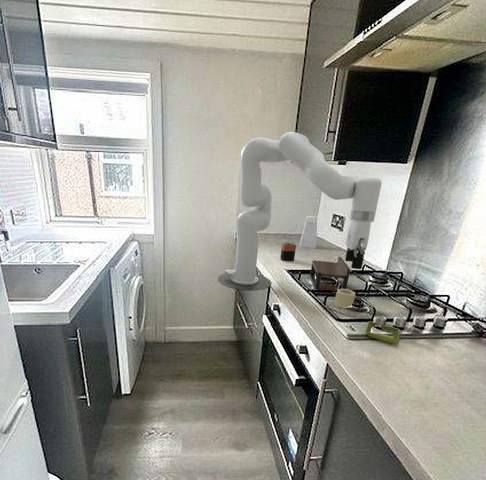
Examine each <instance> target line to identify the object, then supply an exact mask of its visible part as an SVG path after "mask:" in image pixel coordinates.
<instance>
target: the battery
mask: <svg viewBox="0 0 486 480" xmlns="http://www.w3.org/2000/svg"><path fill="white" fill-rule="evenodd" d="M296 249H297V245H296V244H295V243H294V242H290V243H289V242H288V241H284V242H282V243H281V250H280V256H279V257H280V258H279V259H280V260H281V261H283V262H294V261H295V256H296Z"/></svg>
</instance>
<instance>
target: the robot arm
mask: <svg viewBox="0 0 486 480" xmlns="http://www.w3.org/2000/svg"><path fill="white" fill-rule="evenodd" d="M286 161H290V162H291V163H293V164H294V165H295V166H296V167H297V168H299V169H300V171H302V172H303V173H304V174H305V175H306V177H307V178H308V179H309V180H310V182H311V183H312V184H313V185H314V186H315V187H316V188H318V189H319V190H320V192H322V193H323V194H325V195H326V196H327V197H328V198H330V199H333V200H337V201H338V200H339V201H340V200H348V199H349V200H351V199H352V204H351V209H350V215H349V221H350V223H349V225H348V230H347V234H346V239H345V243H344V244H345V246H346V253H345V259H344V262H351V266H350V269H354V270H361V269H362V268H363V263H364V258H365V253H366V250H367V247H368V244H369V240H370V239H369V238H370V233H371V226H372V223H374V222H375V217H376V213H377V208H378V203H379V198H380V194H381V189H382V183H383V182H382V180H381V179H380V178H377V177H376V178H375V177H360V178H357V177H351V176H345V175H342V174H340V173H339V172H338V171H337V170H335V169H334V168H333V167H332V166H331V165H330V164H328V162H327V161H326V160H325V155H324V153H323V152H322V151H320V150H319V149H318V148H317V147H315V146H314V145H313V144H312V143H310V139H309V138H308V137H307V136H306V135H304V134H303V133H299V132H296V131H288V132H286V133H284V134H283V135H281V137H280V139H278V140H277V139H276V140H274V139H270V138H266V137H255V138H252V139H251V140H249V141H248V142H246V143H245V145H244V146H243V148H242V150H241V153H240V186H239V187H240V189H239V191H240V192H239V200H240V203H241V204H242V206H243V207H246V208H251V209H250V210H245V211H243V212H241V213H239V215H238V216H237V218H236V222H235V223H236V224H235V226H236V251H235V263H234V269H225V270H224V273H225V274H227V275H232V276H231V281H233V282H234V283H237V284H242V285H253V284H256V283H257V282H258V278H257V277H255V274H257V262H258V255H259V242H260V241H259V235H258V233H259V232H262V231H264V230H266V229H267V228H268V227H269V226H270V223H271V220H272V219H271V217H272V191H271V190H270V188H269V187H268V186H267V185H265V184H262V168H261V165H260V163H261V162H264V163H280V162H286Z"/></svg>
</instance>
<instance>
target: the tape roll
mask: <svg viewBox="0 0 486 480" xmlns="http://www.w3.org/2000/svg"><path fill="white" fill-rule="evenodd" d="M355 297H356V292H355V291H353V290H351V289H348V288H346V289H337V292H336V294H335V297H334V301H333V305H334V306H335V307H336V308H339V307H341V308H340V309H343V308H345V307H348V306H351V305H352V304H353V305H354V303H355V299H356V298H355ZM353 302H354V303H353Z"/></svg>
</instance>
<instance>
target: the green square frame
mask: <svg viewBox="0 0 486 480" xmlns="http://www.w3.org/2000/svg"><path fill="white" fill-rule="evenodd" d="M377 324H378V322H375V321H370V320H369V321H368V322H367V325H366V328H365V333H366V335H367V336H368V337H369V338H372V339H376V340H378V341H381V342H386V343H389V344H396V343H397V342H399V340H400V334H401V333H400V332H401V329H399V328H398V327H394V326H390V325H386V324H382V323H379V324H380V325H381V329H382V330H384V331H390V332H393V333H395V334H394V335H393V336H388V335H378V334H374V333H371V332H370V331H371V328H372V327H375V325H377Z"/></svg>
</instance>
